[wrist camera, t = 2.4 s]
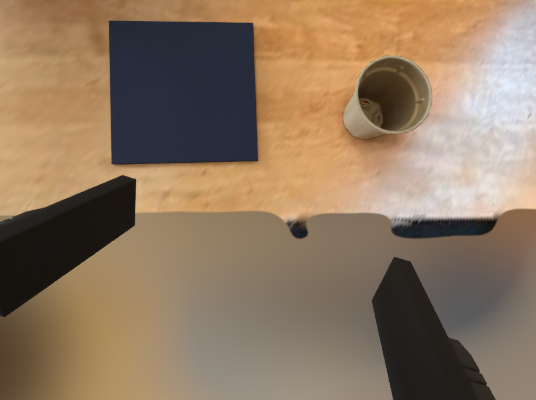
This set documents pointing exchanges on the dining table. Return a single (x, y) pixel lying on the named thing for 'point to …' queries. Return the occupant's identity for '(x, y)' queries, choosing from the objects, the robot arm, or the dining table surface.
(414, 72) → the flower pot
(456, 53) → the dining table surface
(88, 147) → the dining table surface
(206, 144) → the placemat
